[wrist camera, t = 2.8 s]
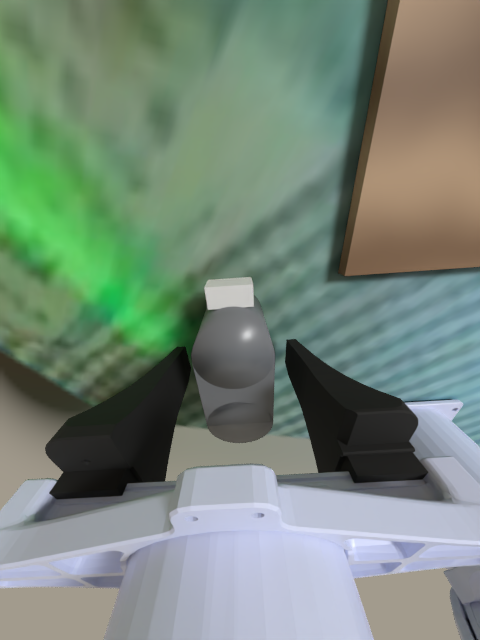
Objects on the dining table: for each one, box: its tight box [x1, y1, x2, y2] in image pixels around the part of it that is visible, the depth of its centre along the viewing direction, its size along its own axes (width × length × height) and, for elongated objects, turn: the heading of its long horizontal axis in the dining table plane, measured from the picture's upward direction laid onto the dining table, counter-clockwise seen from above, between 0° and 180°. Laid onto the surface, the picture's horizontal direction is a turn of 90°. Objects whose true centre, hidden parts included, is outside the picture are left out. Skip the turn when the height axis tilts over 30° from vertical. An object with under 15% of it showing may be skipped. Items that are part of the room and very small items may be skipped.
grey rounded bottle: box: [191, 277, 275, 443], centre depth 12 cm, size 10×4×5 cm, turn 4°
